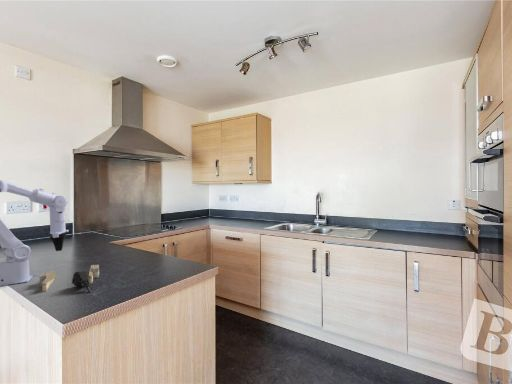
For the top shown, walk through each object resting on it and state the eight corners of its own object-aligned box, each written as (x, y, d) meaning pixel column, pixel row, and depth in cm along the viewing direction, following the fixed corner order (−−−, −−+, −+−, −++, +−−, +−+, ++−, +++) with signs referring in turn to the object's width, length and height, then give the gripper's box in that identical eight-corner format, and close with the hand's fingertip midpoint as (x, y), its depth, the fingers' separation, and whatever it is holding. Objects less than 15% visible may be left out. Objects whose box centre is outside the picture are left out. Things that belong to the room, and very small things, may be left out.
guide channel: (35, 292, 100) (35, 282, 99) (46, 278, 115) (45, 269, 115) (97, 282, 109) (97, 272, 109) (99, 270, 125) (99, 261, 125)
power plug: (81, 293, 96) (71, 268, 102) (77, 306, 99) (68, 282, 105) (98, 288, 101) (88, 265, 107) (94, 301, 104) (85, 278, 110)
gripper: (65, 222, 121) (67, 252, 121) (70, 219, 133) (71, 246, 134) (46, 223, 117) (47, 254, 118) (52, 220, 130) (53, 248, 130)
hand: (58, 250), depth 126 cm, fingers closed
